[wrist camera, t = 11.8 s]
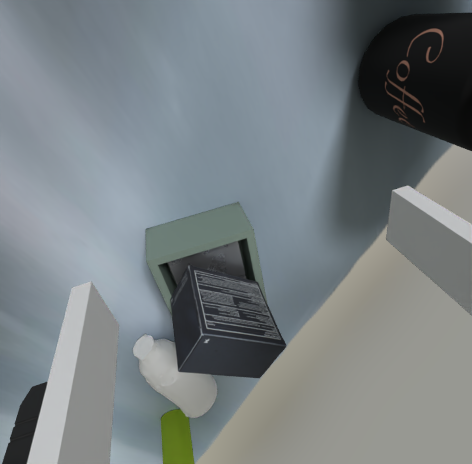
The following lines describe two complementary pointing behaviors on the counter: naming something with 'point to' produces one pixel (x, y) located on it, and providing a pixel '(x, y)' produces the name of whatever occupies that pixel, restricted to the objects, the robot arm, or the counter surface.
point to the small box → (223, 325)
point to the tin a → (211, 261)
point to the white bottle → (174, 377)
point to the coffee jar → (423, 75)
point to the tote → (201, 243)
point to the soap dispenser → (176, 438)
